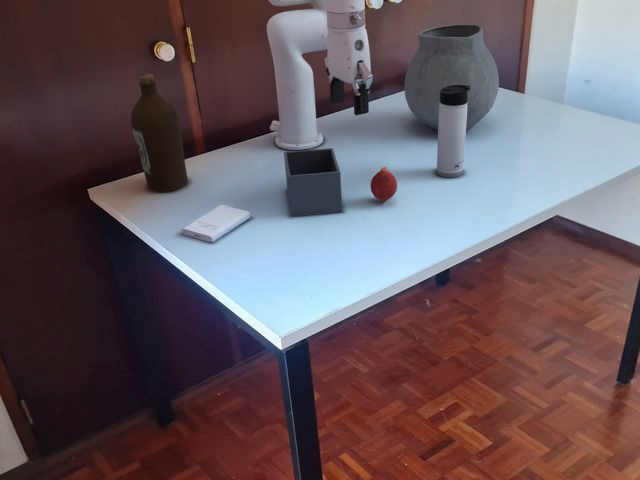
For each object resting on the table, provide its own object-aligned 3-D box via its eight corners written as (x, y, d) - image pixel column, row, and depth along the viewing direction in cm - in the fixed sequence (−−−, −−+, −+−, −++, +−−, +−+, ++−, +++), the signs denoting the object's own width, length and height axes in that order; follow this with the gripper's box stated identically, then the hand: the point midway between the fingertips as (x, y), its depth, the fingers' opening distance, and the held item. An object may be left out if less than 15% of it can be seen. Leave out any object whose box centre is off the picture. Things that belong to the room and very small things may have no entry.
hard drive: (250, 218, 152) (212, 243, 143) (221, 210, 155) (182, 234, 147) (249, 211, 151) (211, 236, 142) (220, 204, 154) (181, 227, 146)
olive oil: (184, 172, 173) (164, 66, 158) (195, 187, 166) (176, 78, 151) (141, 180, 170) (116, 73, 155) (150, 197, 162) (125, 86, 147)
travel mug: (463, 178, 164) (469, 91, 152) (435, 177, 166) (438, 90, 154) (465, 168, 169) (471, 82, 157) (437, 166, 170) (441, 81, 158)
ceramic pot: (433, 106, 206) (436, 13, 191) (510, 120, 194) (520, 22, 179) (387, 132, 190) (386, 33, 175) (467, 149, 179) (474, 45, 164)
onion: (397, 207, 154) (397, 172, 149) (371, 207, 154) (370, 172, 149) (396, 195, 158) (396, 161, 154) (370, 196, 159) (370, 162, 154)
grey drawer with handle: (286, 181, 167) (282, 144, 161) (332, 177, 168) (330, 140, 162) (291, 216, 152) (287, 176, 146) (342, 211, 153) (340, 172, 147)
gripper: (386, 24, 134) (386, 115, 144) (340, 10, 146) (343, 94, 156) (352, 30, 131) (355, 122, 141) (308, 15, 143) (314, 101, 153)
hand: (349, 107), depth 148 cm, fingers open, 9 cm apart
